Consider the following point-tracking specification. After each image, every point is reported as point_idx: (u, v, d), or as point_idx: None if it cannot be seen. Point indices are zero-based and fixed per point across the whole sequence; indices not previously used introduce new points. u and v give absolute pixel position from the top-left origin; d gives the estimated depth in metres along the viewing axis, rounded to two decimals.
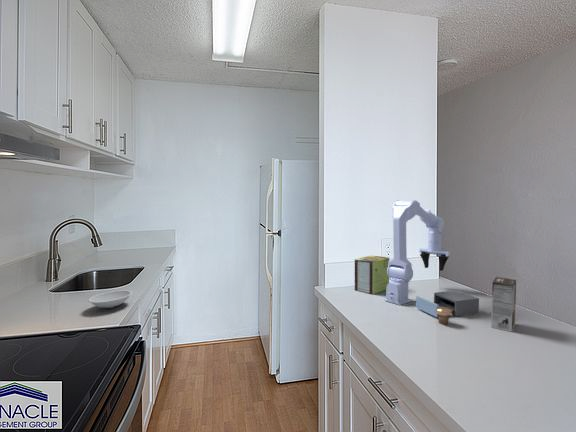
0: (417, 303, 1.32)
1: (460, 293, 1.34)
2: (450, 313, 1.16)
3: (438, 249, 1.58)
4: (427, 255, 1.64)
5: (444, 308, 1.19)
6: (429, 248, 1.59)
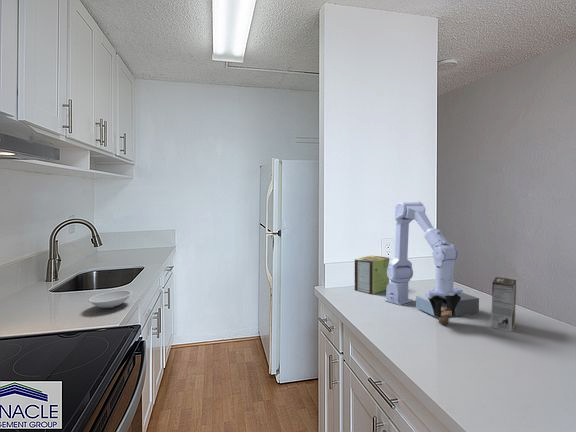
0: (417, 303, 1.32)
1: None
2: (450, 313, 1.16)
3: (436, 288, 1.18)
4: (451, 298, 1.18)
5: (444, 308, 1.19)
6: None
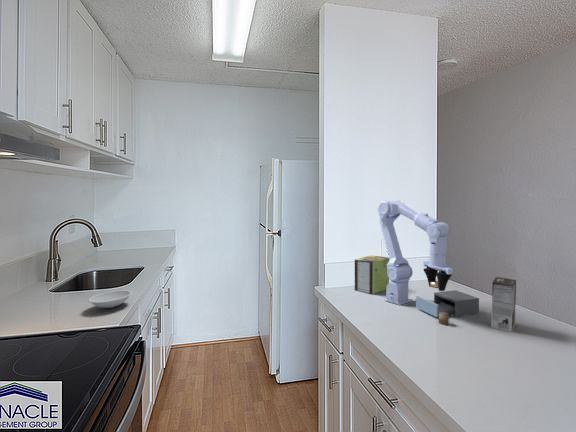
0: (417, 303, 1.32)
1: (460, 293, 1.34)
2: None
3: (439, 264, 1.25)
4: (433, 271, 1.30)
5: (433, 281, 1.29)
6: (429, 262, 1.28)
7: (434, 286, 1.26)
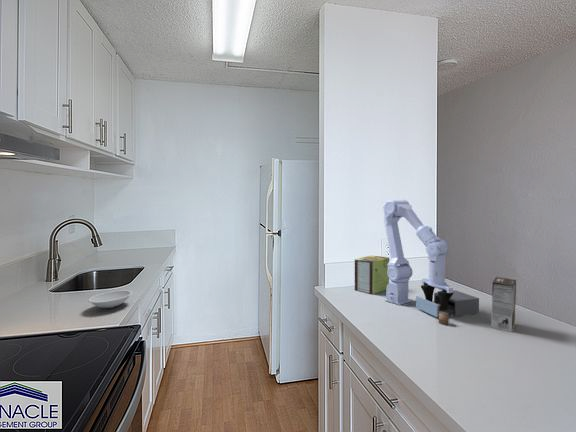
0: (417, 303, 1.32)
1: (460, 293, 1.34)
2: None
3: (439, 282, 1.26)
4: (430, 288, 1.32)
5: None
6: (429, 280, 1.29)
7: None
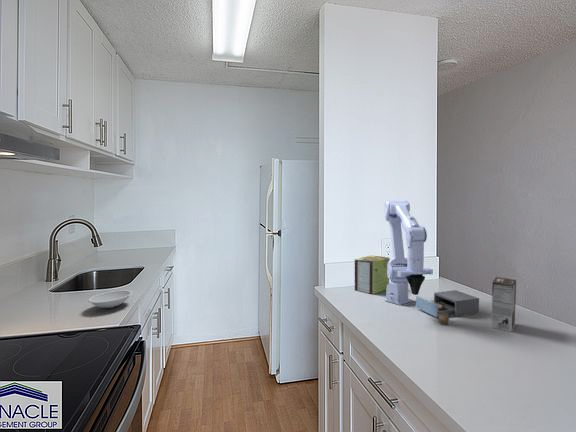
0: (417, 303, 1.32)
1: (460, 293, 1.34)
2: None
3: (407, 268, 1.25)
4: None
5: None
6: None
7: None
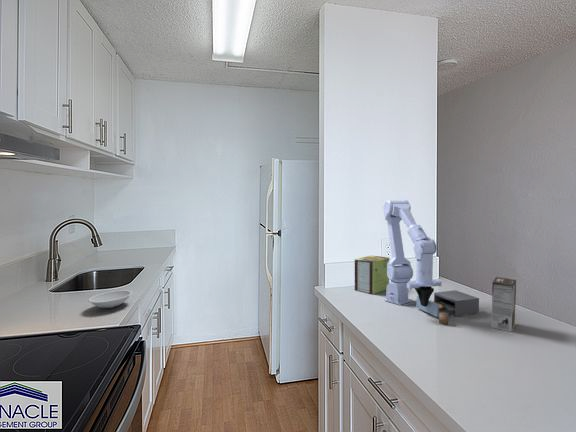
0: (417, 303, 1.32)
1: (460, 293, 1.34)
2: None
3: (416, 279, 1.27)
4: None
5: None
6: None
7: None
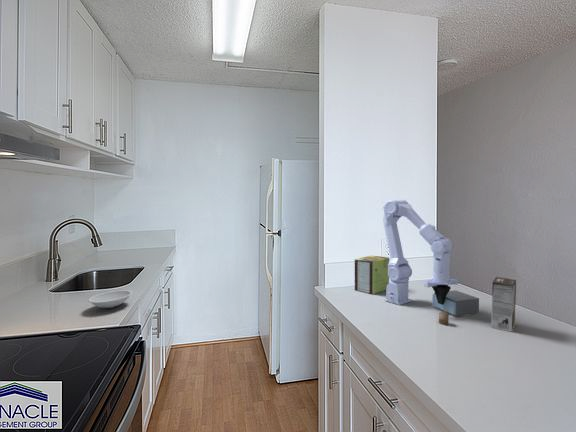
0: (433, 301, 1.35)
1: (460, 293, 1.34)
2: None
3: (433, 278, 1.29)
4: None
5: None
6: None
7: None
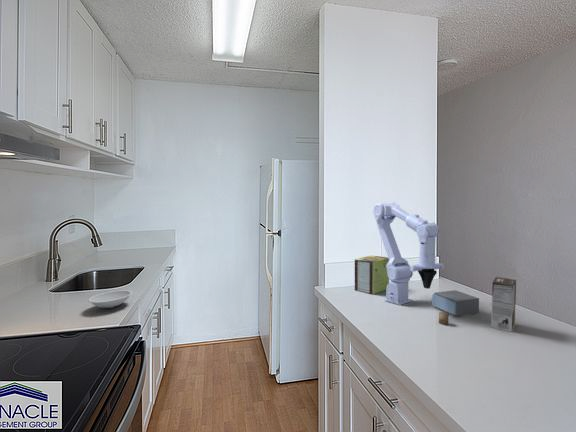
0: (433, 301, 1.35)
1: (460, 293, 1.34)
2: None
3: (419, 262, 1.30)
4: None
5: None
6: None
7: None
